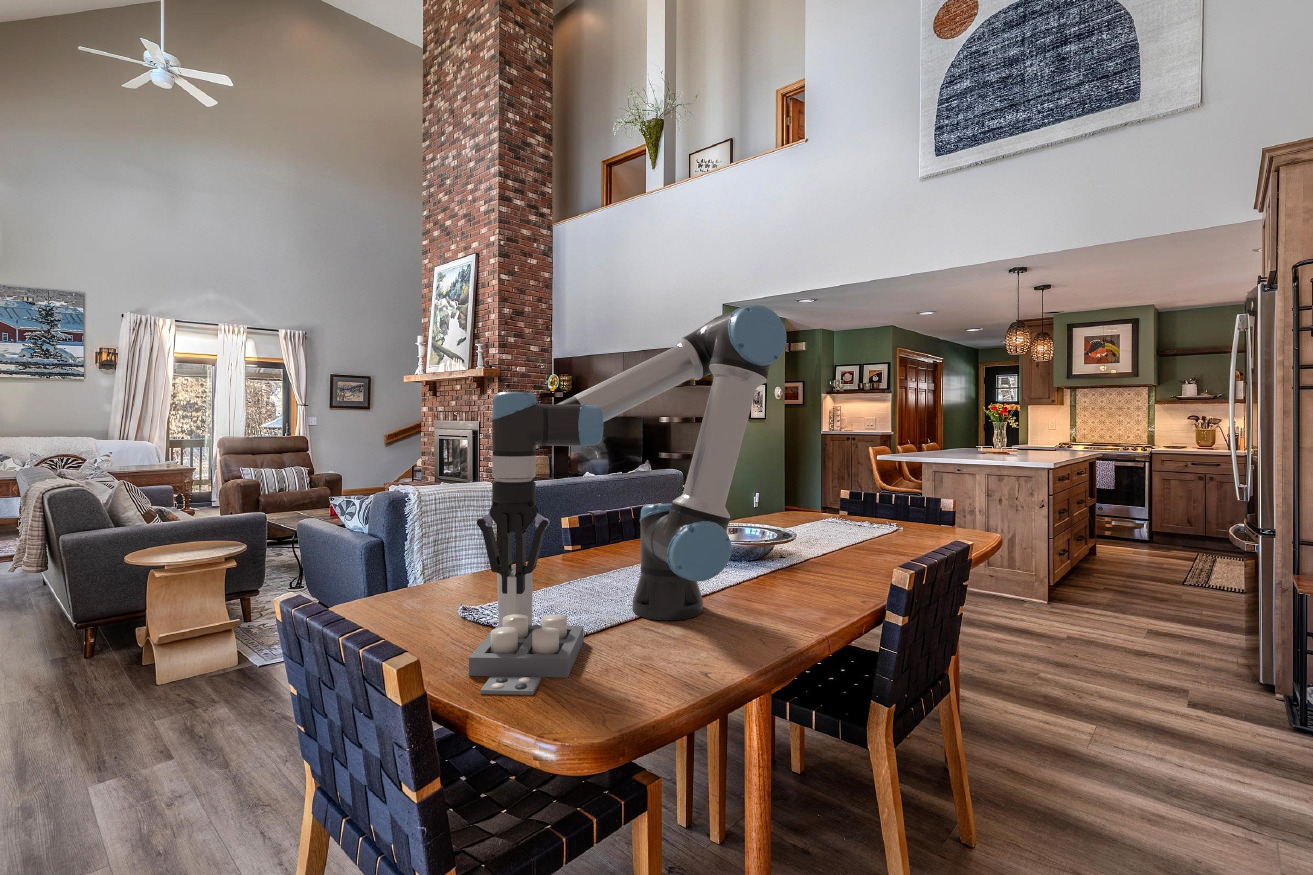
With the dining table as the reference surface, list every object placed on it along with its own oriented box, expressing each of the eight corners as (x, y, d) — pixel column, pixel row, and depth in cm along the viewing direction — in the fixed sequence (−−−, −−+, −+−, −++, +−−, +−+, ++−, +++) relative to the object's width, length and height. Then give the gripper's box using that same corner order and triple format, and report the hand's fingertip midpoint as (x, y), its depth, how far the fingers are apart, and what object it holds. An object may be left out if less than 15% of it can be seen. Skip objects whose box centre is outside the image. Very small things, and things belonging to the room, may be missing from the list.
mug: (537, 633, 122) (536, 571, 122) (501, 638, 119) (501, 575, 119) (524, 618, 131) (524, 560, 131) (491, 623, 129) (490, 564, 128)
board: (583, 641, 118) (583, 625, 118) (567, 677, 102) (567, 658, 102) (498, 640, 118) (498, 624, 118) (469, 675, 102) (468, 657, 102)
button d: (520, 647, 109) (520, 626, 109) (513, 657, 104) (513, 635, 104) (495, 647, 109) (495, 626, 109) (487, 657, 105) (487, 635, 104)
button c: (561, 648, 108) (561, 627, 108) (556, 658, 104) (556, 636, 104) (535, 647, 109) (535, 627, 109) (529, 657, 104) (529, 636, 104)
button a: (568, 634, 115) (568, 614, 115) (564, 642, 111) (564, 622, 111) (544, 633, 116) (544, 614, 116) (539, 642, 111) (539, 622, 111)
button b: (530, 633, 116) (530, 614, 116) (524, 642, 111) (524, 621, 111) (506, 633, 116) (506, 613, 116) (499, 641, 112) (499, 621, 111)
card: (540, 680, 100) (540, 676, 100) (533, 694, 95) (533, 689, 95) (490, 680, 101) (490, 675, 101) (480, 693, 96) (480, 688, 96)
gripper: (554, 478, 116) (554, 606, 117) (484, 476, 117) (484, 604, 117) (545, 482, 109) (545, 619, 109) (470, 480, 109) (470, 617, 110)
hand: (513, 611), depth 113 cm, fingers closed
